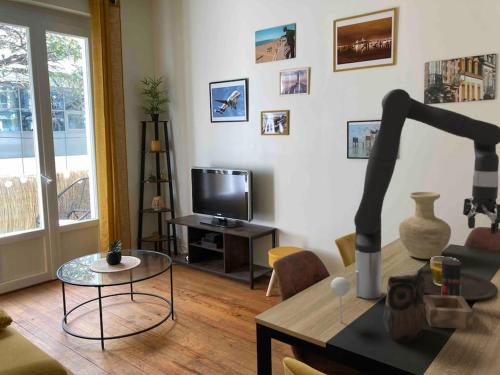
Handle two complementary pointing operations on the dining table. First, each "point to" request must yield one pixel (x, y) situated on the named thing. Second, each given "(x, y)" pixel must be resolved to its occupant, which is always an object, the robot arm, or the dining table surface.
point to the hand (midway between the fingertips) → (482, 231)
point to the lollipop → (340, 288)
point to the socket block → (448, 311)
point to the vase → (424, 228)
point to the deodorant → (451, 278)
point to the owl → (405, 305)
